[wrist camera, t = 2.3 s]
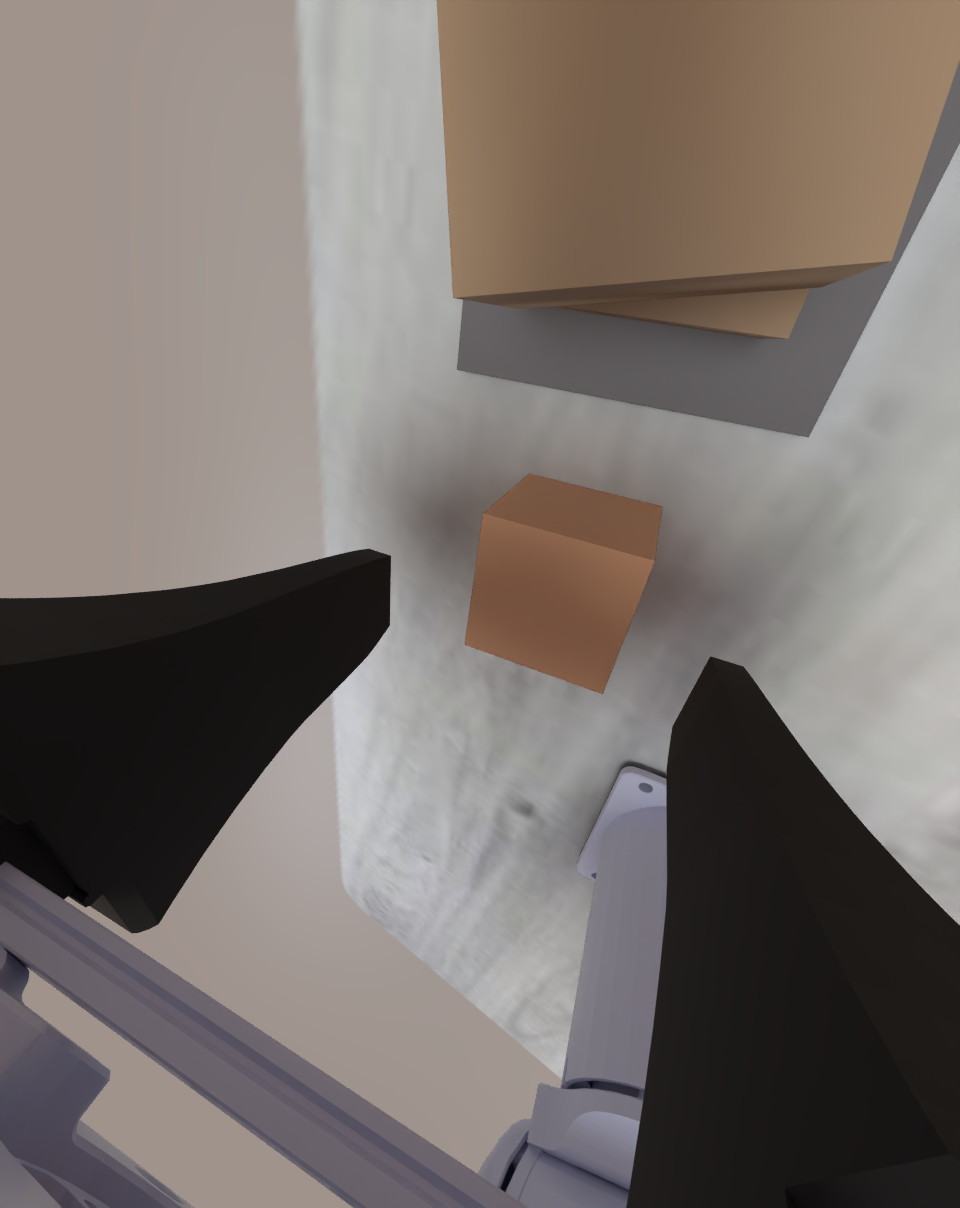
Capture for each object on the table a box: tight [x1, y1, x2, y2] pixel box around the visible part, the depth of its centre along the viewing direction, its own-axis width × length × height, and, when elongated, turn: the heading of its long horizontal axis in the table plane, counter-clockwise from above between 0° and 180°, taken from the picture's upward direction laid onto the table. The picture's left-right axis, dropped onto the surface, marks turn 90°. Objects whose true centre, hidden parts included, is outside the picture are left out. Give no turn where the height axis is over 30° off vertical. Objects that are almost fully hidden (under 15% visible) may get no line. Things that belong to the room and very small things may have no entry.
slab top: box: [437, 0, 960, 309], centre depth 5 cm, size 5×5×3 cm
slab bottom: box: [550, 288, 810, 339], centre depth 8 cm, size 6×6×3 cm
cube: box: [465, 474, 662, 694], centre depth 13 cm, size 4×4×4 cm
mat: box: [457, 60, 960, 437], centre depth 9 cm, size 9×9×1 cm
